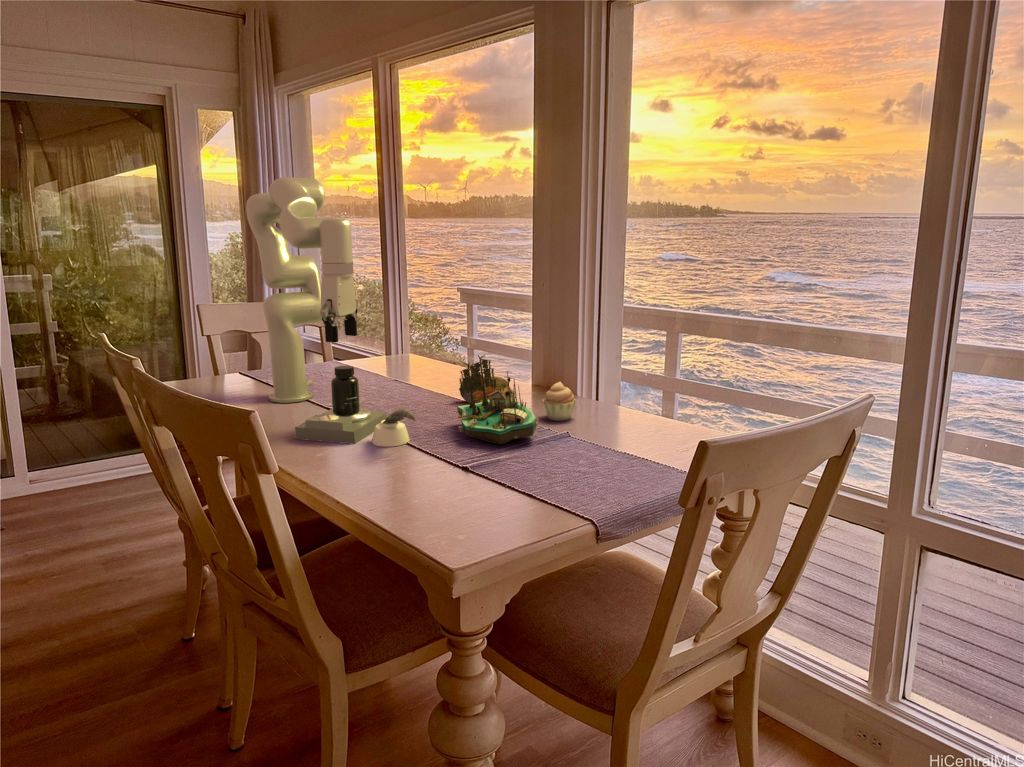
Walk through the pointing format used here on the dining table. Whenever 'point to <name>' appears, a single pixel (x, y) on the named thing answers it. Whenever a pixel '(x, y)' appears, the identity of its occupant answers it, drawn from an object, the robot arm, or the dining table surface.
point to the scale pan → (357, 417)
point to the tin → (479, 394)
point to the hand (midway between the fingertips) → (341, 338)
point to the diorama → (493, 408)
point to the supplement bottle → (345, 392)
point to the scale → (338, 428)
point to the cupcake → (559, 402)
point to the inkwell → (392, 430)
